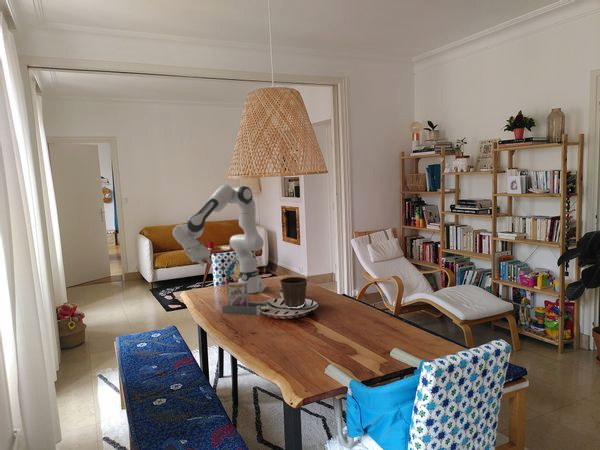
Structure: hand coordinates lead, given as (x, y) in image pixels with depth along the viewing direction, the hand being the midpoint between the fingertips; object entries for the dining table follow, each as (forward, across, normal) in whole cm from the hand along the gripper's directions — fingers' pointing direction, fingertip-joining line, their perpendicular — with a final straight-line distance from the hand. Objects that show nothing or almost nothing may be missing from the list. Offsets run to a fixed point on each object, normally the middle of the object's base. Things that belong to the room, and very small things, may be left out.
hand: (207, 264), depth 268 cm
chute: (+36, -2, +1) cm, 36 cm away
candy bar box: (+34, -2, +4) cm, 34 cm away
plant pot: (+54, +9, -19) cm, 58 cm away
